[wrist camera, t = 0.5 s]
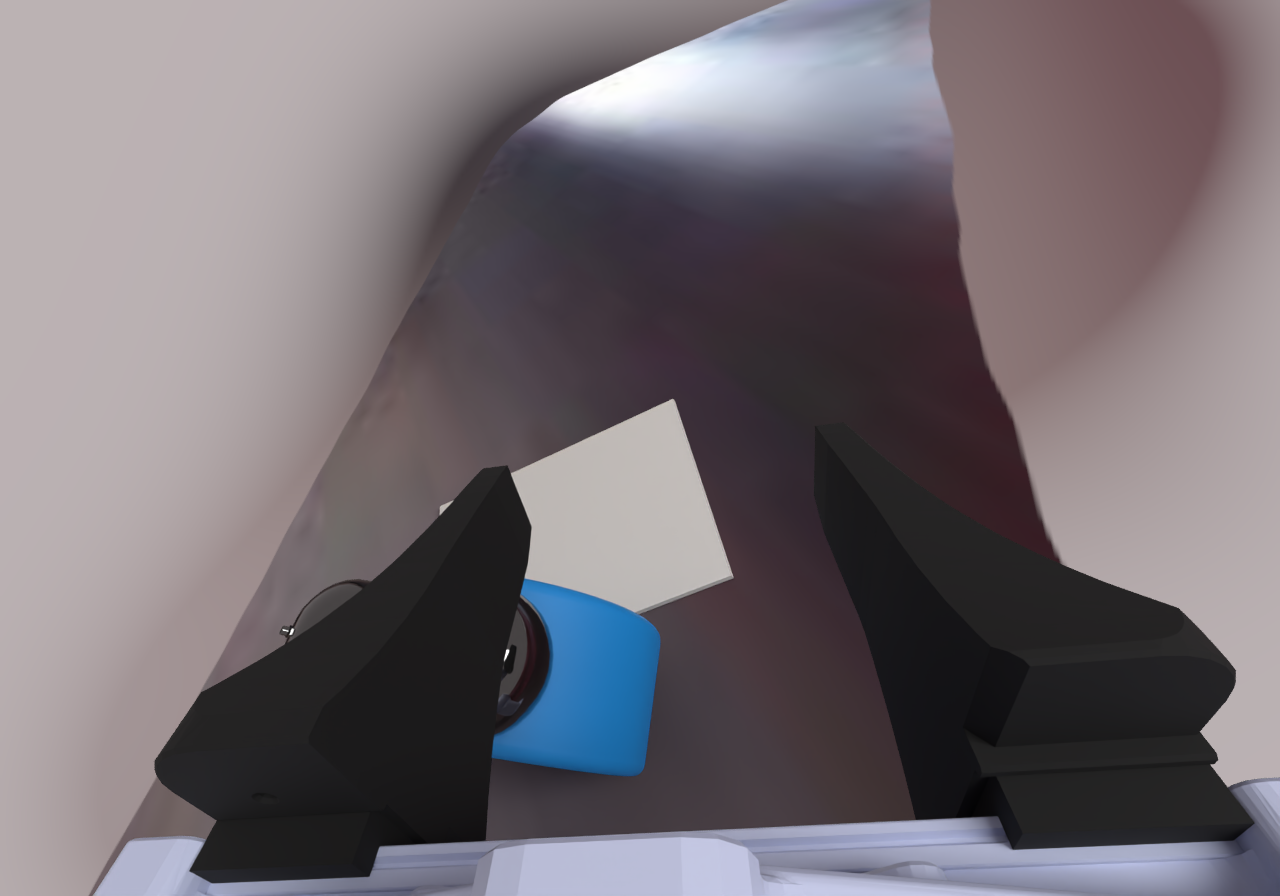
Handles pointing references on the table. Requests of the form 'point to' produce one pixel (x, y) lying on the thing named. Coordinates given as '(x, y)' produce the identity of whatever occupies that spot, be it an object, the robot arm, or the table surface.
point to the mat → (623, 515)
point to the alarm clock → (560, 678)
